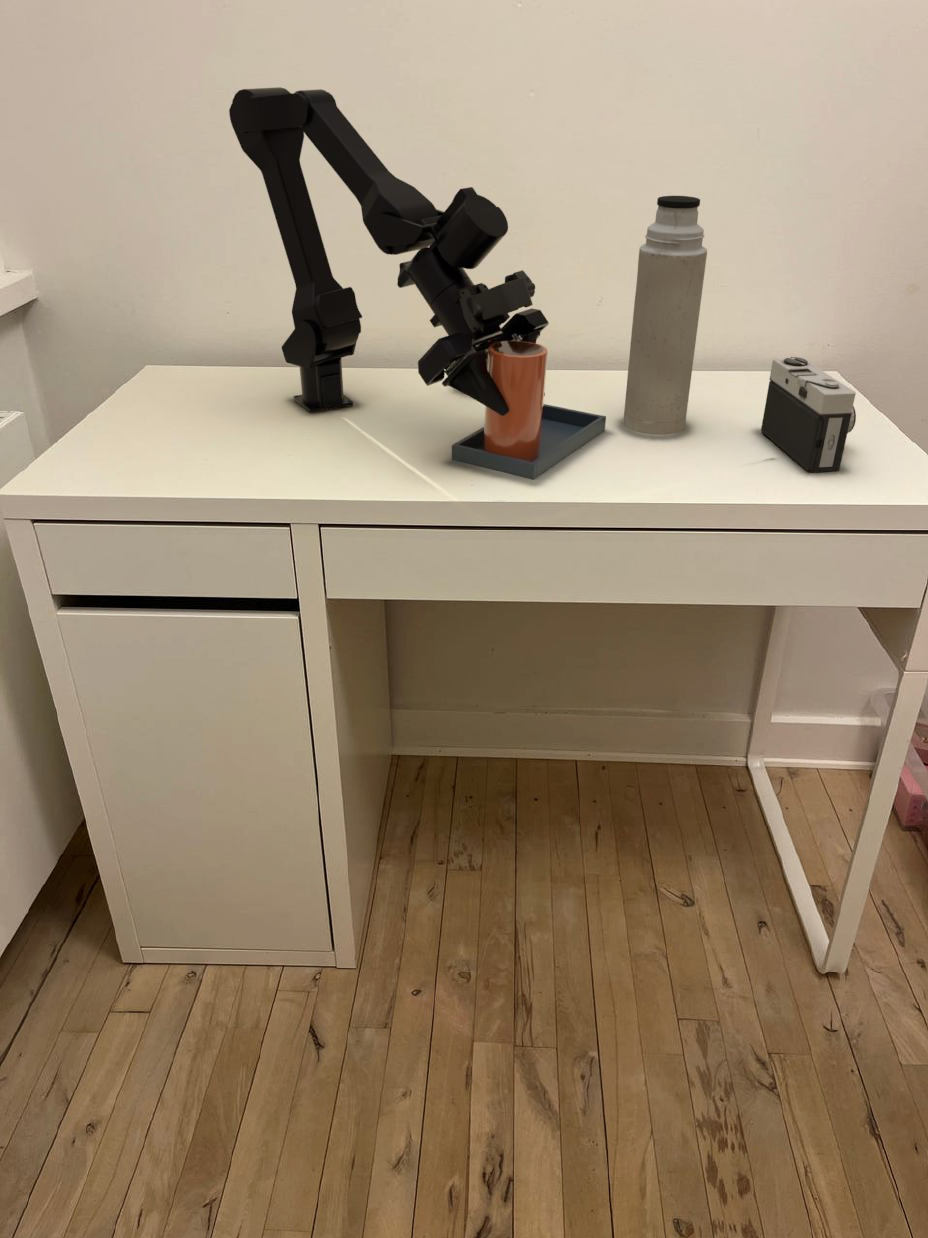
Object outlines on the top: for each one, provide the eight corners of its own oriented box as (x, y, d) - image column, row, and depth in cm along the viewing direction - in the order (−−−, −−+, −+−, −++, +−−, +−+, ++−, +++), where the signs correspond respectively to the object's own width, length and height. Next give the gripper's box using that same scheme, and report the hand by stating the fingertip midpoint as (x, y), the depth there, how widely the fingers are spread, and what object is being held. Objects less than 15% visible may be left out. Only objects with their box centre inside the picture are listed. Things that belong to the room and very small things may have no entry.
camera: (871, 469, 116) (890, 387, 111) (806, 473, 115) (822, 390, 110) (817, 428, 128) (832, 352, 123) (757, 431, 127) (770, 355, 122)
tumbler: (476, 445, 120) (481, 341, 114) (529, 442, 122) (537, 339, 115) (491, 466, 115) (497, 357, 108) (546, 463, 116) (555, 355, 110)
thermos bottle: (632, 413, 133) (654, 190, 118) (691, 422, 130) (720, 194, 115) (615, 432, 127) (636, 198, 112) (675, 441, 124) (705, 203, 109)
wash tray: (528, 417, 131) (529, 400, 130) (604, 433, 126) (606, 416, 125) (451, 463, 117) (451, 445, 116) (533, 483, 112) (534, 464, 111)
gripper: (436, 262, 102) (518, 387, 102) (538, 237, 115) (612, 348, 114) (383, 326, 110) (459, 441, 110) (484, 296, 123) (553, 399, 123)
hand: (524, 405), depth 114 cm, fingers closed on tumbler, 7 cm apart
